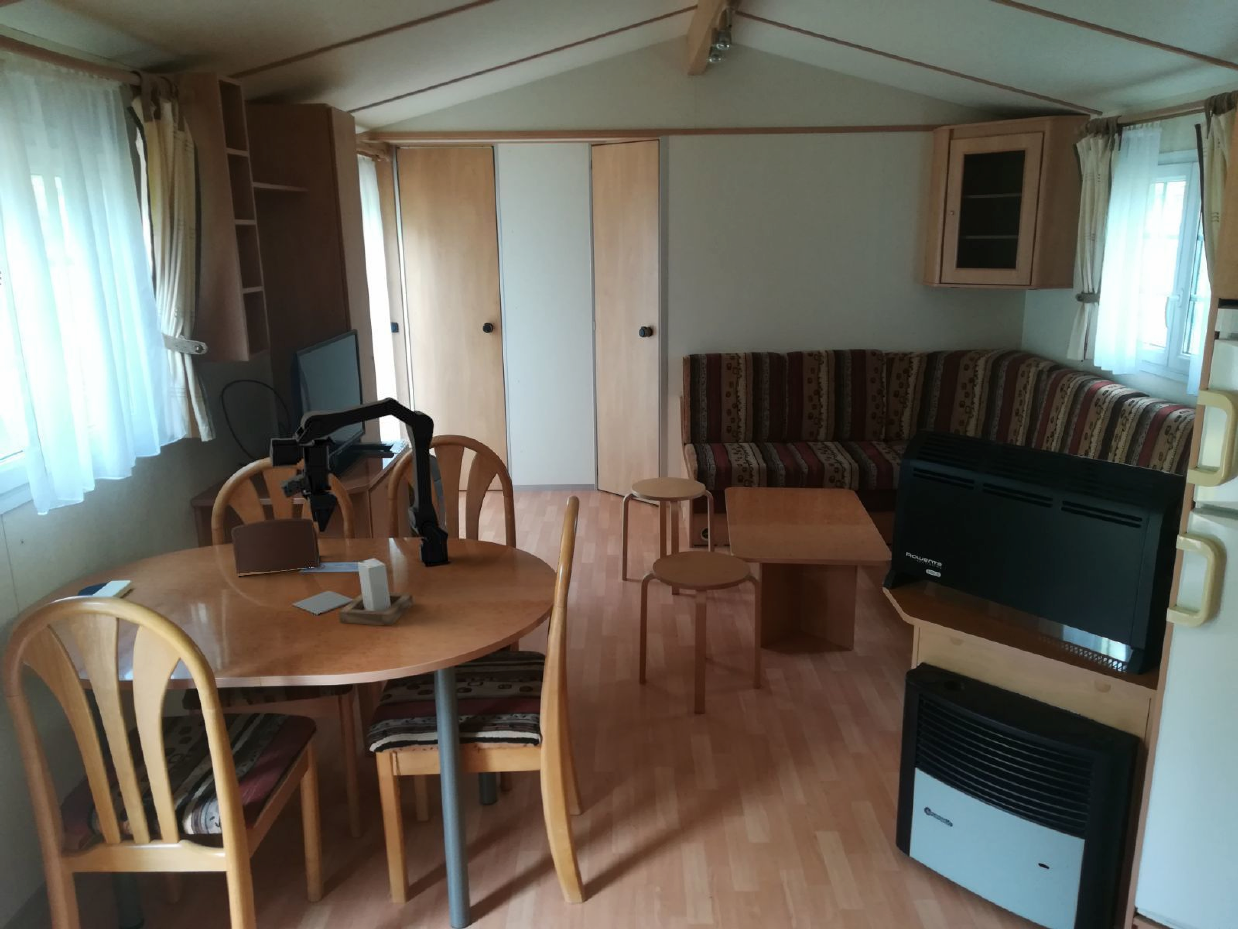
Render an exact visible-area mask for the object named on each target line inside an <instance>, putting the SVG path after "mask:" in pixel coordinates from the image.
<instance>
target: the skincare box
mask: <svg viewBox="0 0 1238 929" xmlns="http://www.w3.org/2000/svg"><path fill="white" fill-rule="evenodd" d="M357 567H358V574H359V581H360V588H361V589H360V590H361V594H362V596H363V603H364V609H363V610H371V611H386V610H388V609H389V608H390V607H391V603H390V596H389V593H390V590H389V589H390V588H389V583H388V582H389V581H388V573H387V565H386V563H384V562H382V561H380V560H378V559H376V558H375V557H374V558H369V559H366V560H365V559H364V560H363V561H358V562H357Z"/></svg>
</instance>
